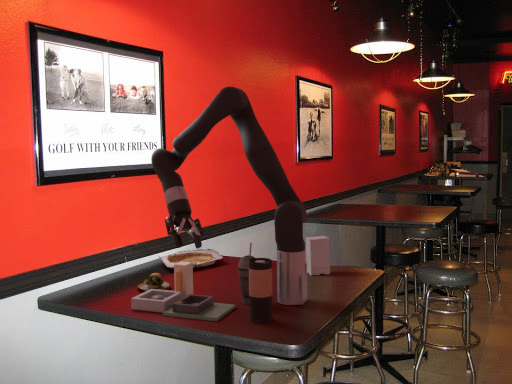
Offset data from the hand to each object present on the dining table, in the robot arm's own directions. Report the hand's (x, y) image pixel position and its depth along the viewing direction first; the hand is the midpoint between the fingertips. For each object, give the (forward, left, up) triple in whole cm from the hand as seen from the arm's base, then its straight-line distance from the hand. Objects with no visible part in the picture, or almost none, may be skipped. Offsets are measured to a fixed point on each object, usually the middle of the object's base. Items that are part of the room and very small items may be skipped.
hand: (190, 247), depth 174 cm
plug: (+6, -5, -19) cm, 20 cm away
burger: (+22, -12, -19) cm, 31 cm away
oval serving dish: (+28, -52, -19) cm, 62 cm away
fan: (+8, +2, -19) cm, 20 cm away
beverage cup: (-17, -7, -19) cm, 27 cm away
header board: (-6, +7, -19) cm, 21 cm away
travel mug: (-27, +9, -19) cm, 34 cm away
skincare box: (-29, -52, -19) cm, 63 cm away
